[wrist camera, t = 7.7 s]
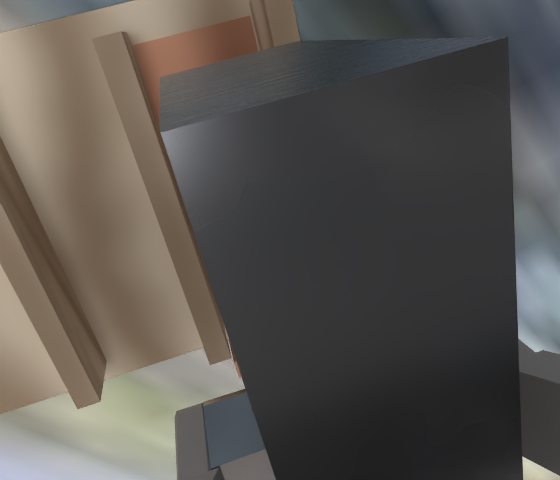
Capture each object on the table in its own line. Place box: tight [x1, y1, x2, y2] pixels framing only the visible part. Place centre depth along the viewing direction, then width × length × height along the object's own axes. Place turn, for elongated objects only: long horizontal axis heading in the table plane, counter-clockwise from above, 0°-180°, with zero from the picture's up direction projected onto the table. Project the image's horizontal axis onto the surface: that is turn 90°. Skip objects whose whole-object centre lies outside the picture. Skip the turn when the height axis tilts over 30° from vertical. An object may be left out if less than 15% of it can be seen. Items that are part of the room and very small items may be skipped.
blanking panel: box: [160, 37, 523, 480], centre depth 10 cm, size 3×12×7 cm, turn 14°
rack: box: [0, 0, 301, 414], centre depth 21 cm, size 19×17×4 cm
